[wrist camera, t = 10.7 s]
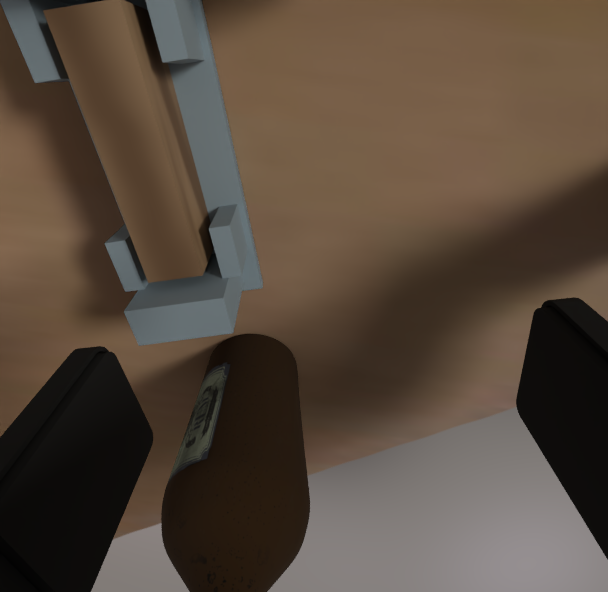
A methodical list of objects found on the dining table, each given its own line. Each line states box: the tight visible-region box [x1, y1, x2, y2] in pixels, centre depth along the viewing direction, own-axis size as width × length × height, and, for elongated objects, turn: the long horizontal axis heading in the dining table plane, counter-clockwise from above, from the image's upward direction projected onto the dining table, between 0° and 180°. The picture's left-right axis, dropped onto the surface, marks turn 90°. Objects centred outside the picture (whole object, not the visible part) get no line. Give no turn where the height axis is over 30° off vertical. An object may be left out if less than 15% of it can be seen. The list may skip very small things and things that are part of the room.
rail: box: [43, 0, 214, 283], centre depth 26 cm, size 4×16×6 cm, turn 8°
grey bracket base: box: [0, 0, 263, 346], centre depth 26 cm, size 10×26×9 cm, turn 8°
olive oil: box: [161, 334, 310, 592], centre depth 30 cm, size 11×11×25 cm
